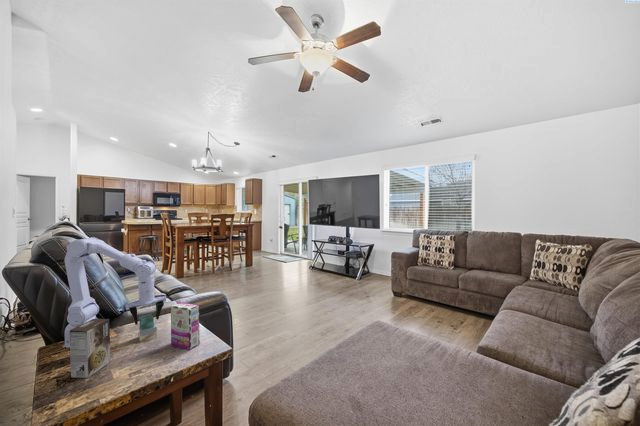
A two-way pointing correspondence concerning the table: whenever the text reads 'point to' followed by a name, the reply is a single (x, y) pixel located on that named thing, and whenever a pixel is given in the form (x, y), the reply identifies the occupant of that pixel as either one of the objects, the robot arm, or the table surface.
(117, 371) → the table surface
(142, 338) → the base block
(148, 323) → the cube
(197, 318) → the candy bar box
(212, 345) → the table surface
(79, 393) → the table surface
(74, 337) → the coffee box
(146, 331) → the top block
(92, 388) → the table surface
